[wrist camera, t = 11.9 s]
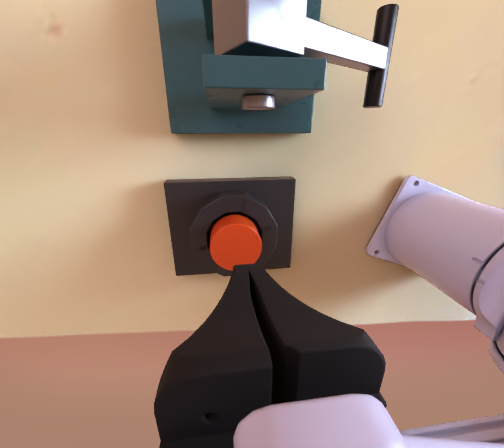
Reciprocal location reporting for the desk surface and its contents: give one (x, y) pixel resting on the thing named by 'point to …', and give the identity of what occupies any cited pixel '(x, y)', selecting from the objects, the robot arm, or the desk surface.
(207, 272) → the control block
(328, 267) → the desk surface
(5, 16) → the desk surface
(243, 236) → the button
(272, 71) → the bracket
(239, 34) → the lever
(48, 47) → the desk surface
